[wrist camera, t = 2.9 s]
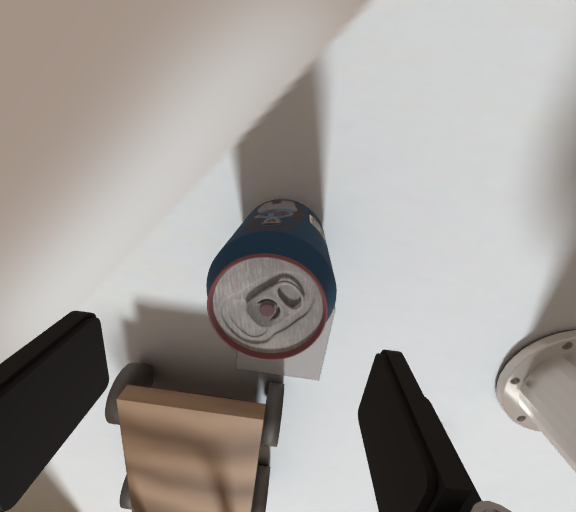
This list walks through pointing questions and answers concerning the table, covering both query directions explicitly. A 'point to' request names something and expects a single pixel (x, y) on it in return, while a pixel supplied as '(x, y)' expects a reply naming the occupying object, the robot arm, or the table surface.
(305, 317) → the soda can
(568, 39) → the table surface
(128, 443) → the trolley
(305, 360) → the mat
